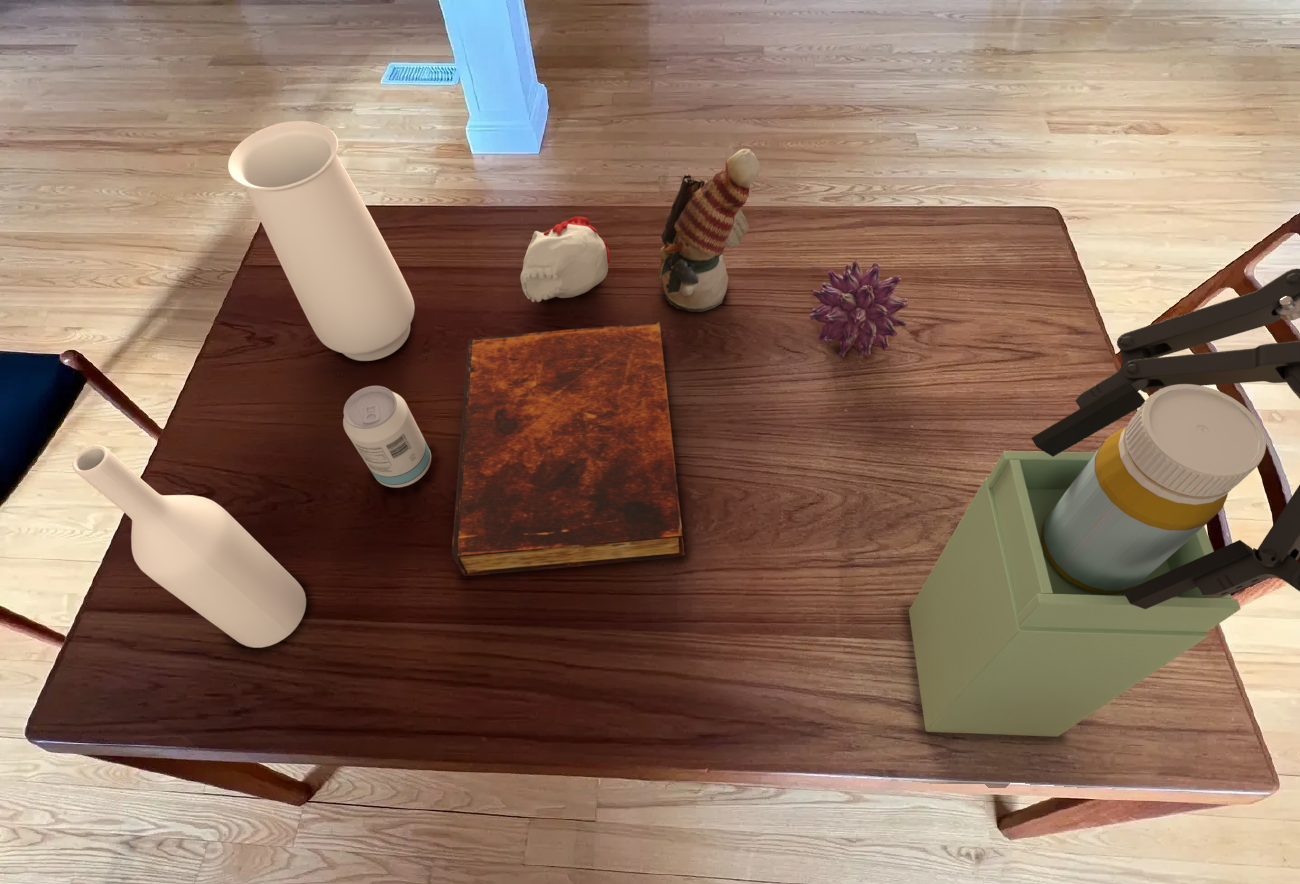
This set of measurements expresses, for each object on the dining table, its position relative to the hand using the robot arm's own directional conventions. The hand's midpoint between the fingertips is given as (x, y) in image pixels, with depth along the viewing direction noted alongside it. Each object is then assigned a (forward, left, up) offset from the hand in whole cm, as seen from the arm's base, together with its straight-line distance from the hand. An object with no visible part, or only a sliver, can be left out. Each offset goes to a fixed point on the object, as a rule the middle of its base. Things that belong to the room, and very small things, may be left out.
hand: (1085, 519), depth 50 cm
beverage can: (+61, +19, -32) cm, 71 cm away
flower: (+31, -30, -32) cm, 54 cm away
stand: (-2, -2, -32) cm, 32 cm away
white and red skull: (+67, -16, -32) cm, 76 cm away
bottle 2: (-2, -2, -6) cm, 7 cm away
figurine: (+52, -26, -32) cm, 67 cm away
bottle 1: (+58, +40, -32) cm, 77 cm away
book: (+47, +5, -32) cm, 57 cm away
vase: (+81, +8, -32) cm, 88 cm away
